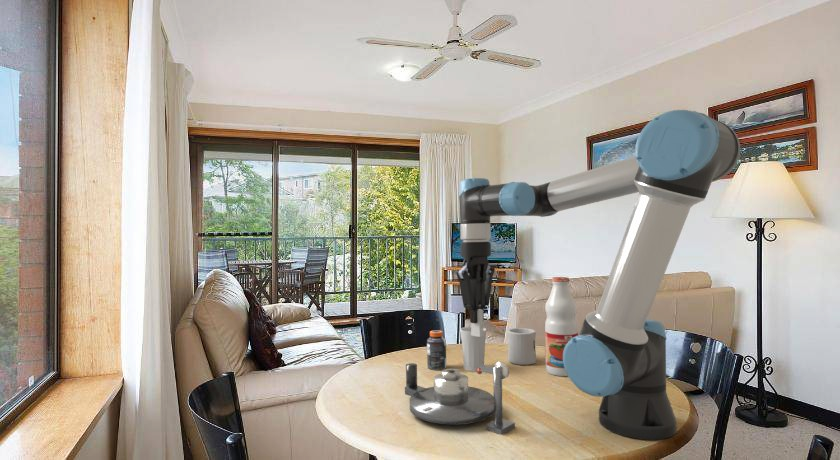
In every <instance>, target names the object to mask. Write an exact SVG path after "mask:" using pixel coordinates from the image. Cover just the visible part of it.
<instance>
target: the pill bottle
mask: <svg viewBox="0 0 840 460" xmlns="http://www.w3.org/2000/svg"><path fill="white" fill-rule="evenodd" d="M443 335H444V333H443V331H442V330H440V329H439V330H435V329H434V330H431V331H429V337H428V338H427V339H426V352H427V353H426V356H427V357H426V358H427V359H426V362H427V364H426V365H427V368H428V369H429V370H434V371H439V370H441V371H442V370H444V369H447V339H446V338H445V337H443Z"/></svg>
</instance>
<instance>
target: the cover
mask: <svg viewBox="0 0 840 460" xmlns="http://www.w3.org/2000/svg"><path fill="white" fill-rule="evenodd" d="M468 386H469V376H467V375H466V374H463V373H461V370H460V369H456V368H445V369H441V373H439V374H437V375H436V374H435V376H434V377H433V387H434V400H435V402H437V403H439V404H442V405H449V406H455V405H461V404H464V403H466V402H468Z"/></svg>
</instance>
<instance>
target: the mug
mask: <svg viewBox="0 0 840 460" xmlns="http://www.w3.org/2000/svg"><path fill="white" fill-rule="evenodd" d="M536 333H537V331H536V330H535V329H532V328H526V327H513V328H509V329H508V330H507V336H508V337H507V338H508V351H507V352H508V353H507V361H508V362H509V363H511V364H513V365H517V366H518V365H519V366H529V365H534V364H536V362H537V352H536V335H537V334H536Z"/></svg>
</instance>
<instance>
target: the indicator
mask: <svg viewBox="0 0 840 460" xmlns="http://www.w3.org/2000/svg"><path fill="white" fill-rule="evenodd" d="M476 373H477V374H479V375H480V374H482V373H485V374H490V375H493V376H492V377H493V396H494V414H493V420H492V421H490V422H487V423H486V424H485V430H487V431H488V432H489V431H490V432H492V433H495V434H497V435H498V434H499V435H500V436H502V435H504V434H506V433H507V432H509V431H511V430H513V429H514V428H515V427H516V422H514V421H512V420H511V421H510V420H508V419H504V417H503V380H504V379H507V378H508V377H509V374H510V368H509V366H508V365H507V363H506V362H504V361H498V362H495V363H494V364H493V366H491V365H486V364H484V365H482V366H481V368H478V369H477V371H476Z"/></svg>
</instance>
